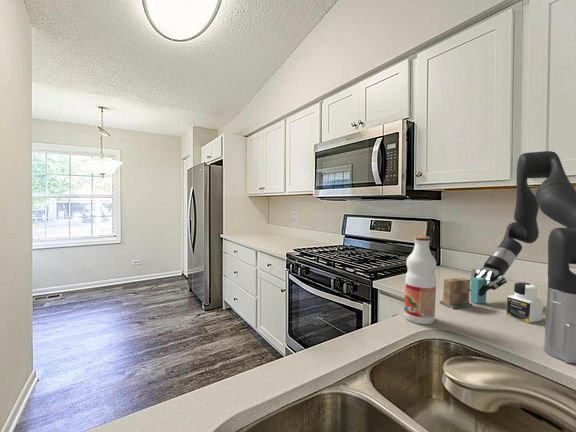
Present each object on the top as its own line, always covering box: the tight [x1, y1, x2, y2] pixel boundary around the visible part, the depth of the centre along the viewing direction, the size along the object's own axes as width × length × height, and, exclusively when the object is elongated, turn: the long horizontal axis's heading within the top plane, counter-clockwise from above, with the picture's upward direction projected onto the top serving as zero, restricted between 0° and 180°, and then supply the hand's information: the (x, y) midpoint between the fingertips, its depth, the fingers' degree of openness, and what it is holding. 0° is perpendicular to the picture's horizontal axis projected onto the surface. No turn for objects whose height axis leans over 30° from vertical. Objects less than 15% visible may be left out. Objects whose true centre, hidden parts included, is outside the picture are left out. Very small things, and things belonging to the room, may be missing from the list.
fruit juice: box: [403, 235, 437, 325], centre depth 96 cm, size 9×9×28 cm
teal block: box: [469, 277, 487, 305], centre depth 114 cm, size 4×3×10 cm, turn 107°
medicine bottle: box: [506, 282, 544, 324], centre depth 99 cm, size 7×7×12 cm
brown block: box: [439, 277, 473, 310], centre depth 111 cm, size 10×6×10 cm, turn 107°
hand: (475, 293), depth 114 cm, fingers closed on teal block, 3 cm apart
